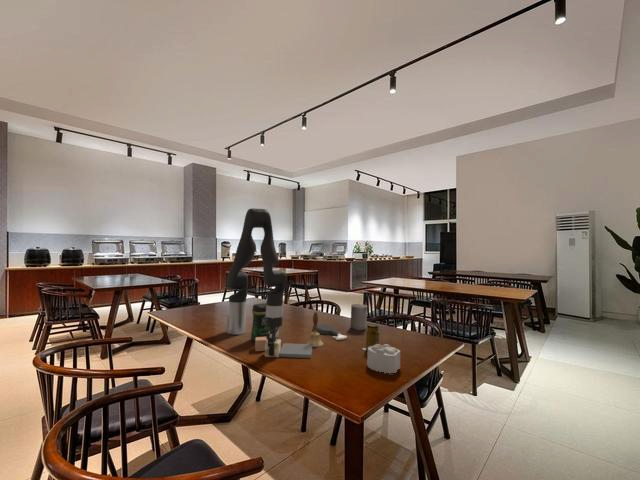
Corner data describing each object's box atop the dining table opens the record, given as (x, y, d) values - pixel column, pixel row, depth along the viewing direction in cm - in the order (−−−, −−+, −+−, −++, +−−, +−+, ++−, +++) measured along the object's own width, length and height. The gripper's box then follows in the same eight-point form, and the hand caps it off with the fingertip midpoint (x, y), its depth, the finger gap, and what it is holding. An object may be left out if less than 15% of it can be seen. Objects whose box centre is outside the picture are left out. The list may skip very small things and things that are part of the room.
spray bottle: (326, 328, 186) (351, 339, 166) (310, 330, 181) (334, 342, 160) (326, 323, 186) (351, 334, 166) (310, 325, 181) (334, 337, 160)
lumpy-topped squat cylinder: (393, 375, 119) (394, 353, 119) (362, 367, 126) (363, 346, 126) (401, 367, 128) (402, 346, 128) (372, 360, 135) (373, 340, 135)
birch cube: (264, 356, 134) (265, 342, 135) (267, 352, 140) (267, 338, 141) (278, 357, 134) (278, 343, 134) (280, 352, 140) (281, 339, 140)
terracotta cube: (255, 351, 142) (255, 340, 142) (255, 347, 146) (255, 337, 146) (266, 350, 143) (266, 340, 143) (265, 347, 148) (266, 336, 148)
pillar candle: (348, 326, 190) (348, 302, 190) (362, 325, 193) (363, 301, 193) (354, 330, 181) (355, 305, 181) (369, 329, 184) (370, 304, 184)
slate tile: (278, 356, 135) (278, 353, 135) (283, 346, 149) (283, 343, 149) (310, 358, 135) (310, 354, 135) (312, 347, 149) (312, 344, 149)
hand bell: (303, 344, 154) (304, 312, 154) (314, 340, 160) (315, 309, 160) (315, 348, 148) (316, 315, 148) (326, 344, 154) (327, 312, 154)
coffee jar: (257, 343, 152) (258, 305, 153) (248, 339, 158) (249, 303, 158) (273, 339, 159) (274, 303, 159) (264, 336, 165) (265, 301, 165)
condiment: (374, 347, 152) (374, 322, 153) (384, 352, 145) (385, 327, 145) (361, 348, 149) (362, 324, 149) (371, 354, 142) (372, 328, 142)
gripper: (268, 311, 145) (267, 347, 145) (262, 318, 131) (260, 358, 130) (284, 311, 145) (283, 347, 144) (280, 319, 130) (278, 359, 130)
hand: (272, 352), depth 137 cm, fingers closed on birch cube, 6 cm apart
